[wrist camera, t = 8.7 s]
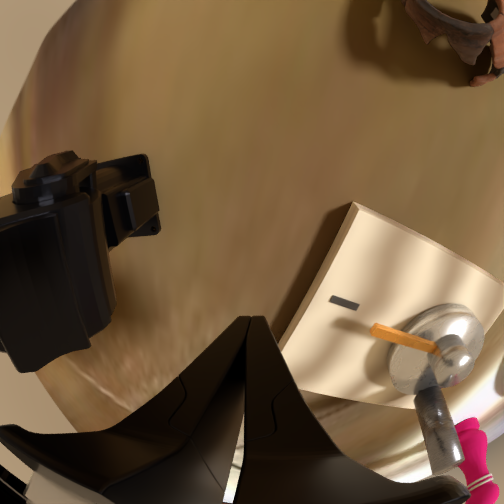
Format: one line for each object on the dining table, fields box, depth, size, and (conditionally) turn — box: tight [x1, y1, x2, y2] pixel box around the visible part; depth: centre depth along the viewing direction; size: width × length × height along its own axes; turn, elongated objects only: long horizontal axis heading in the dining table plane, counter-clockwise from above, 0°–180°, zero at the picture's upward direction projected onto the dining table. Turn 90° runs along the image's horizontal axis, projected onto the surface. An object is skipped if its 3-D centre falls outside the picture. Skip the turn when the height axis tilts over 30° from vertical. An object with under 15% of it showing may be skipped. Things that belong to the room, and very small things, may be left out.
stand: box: [278, 202, 504, 409], centre depth 24 cm, size 20×18×2 cm
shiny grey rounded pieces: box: [370, 303, 484, 475], centre depth 18 cm, size 13×13×11 cm
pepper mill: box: [455, 417, 499, 504], centre depth 24 cm, size 7×7×20 cm
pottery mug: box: [401, 0, 504, 87], centre depth 10 cm, size 12×9×8 cm
